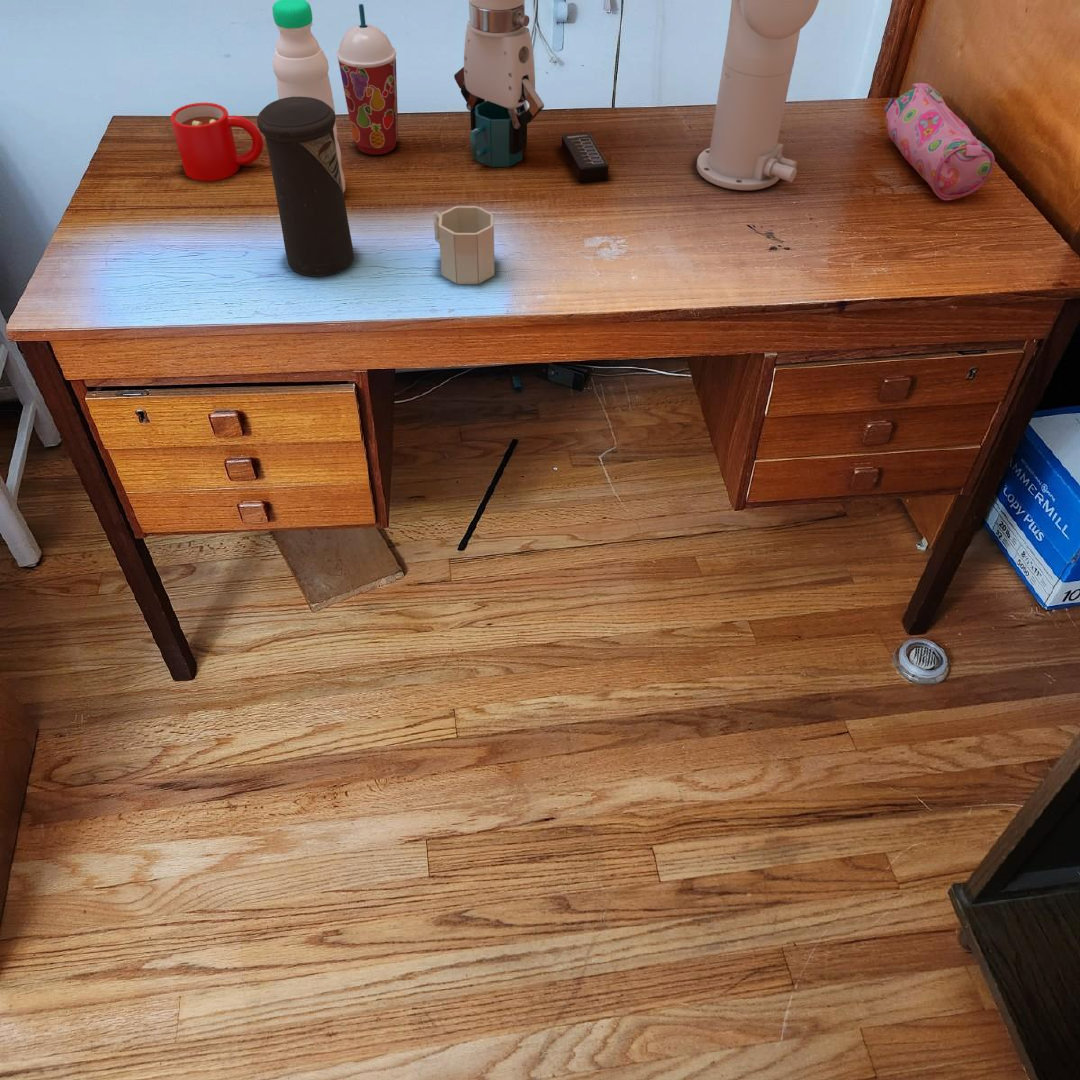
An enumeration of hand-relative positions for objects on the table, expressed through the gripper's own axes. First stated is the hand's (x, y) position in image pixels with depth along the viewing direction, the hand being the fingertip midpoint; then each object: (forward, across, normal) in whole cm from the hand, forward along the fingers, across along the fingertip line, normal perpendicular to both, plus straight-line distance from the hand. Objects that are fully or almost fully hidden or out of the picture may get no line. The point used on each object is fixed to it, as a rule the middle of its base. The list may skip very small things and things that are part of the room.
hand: (498, 142), depth 143 cm
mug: (+2, +28, +29) cm, 40 cm away
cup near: (+2, -16, +26) cm, 30 cm away
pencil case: (+2, -51, -39) cm, 65 cm away
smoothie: (+2, +16, +10) cm, 19 cm away
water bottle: (+2, +12, +25) cm, 28 cm away
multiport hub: (+2, -11, -6) cm, 13 cm away
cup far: (+2, 0, +1) cm, 2 cm away
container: (+2, -1, +37) cm, 37 cm away
